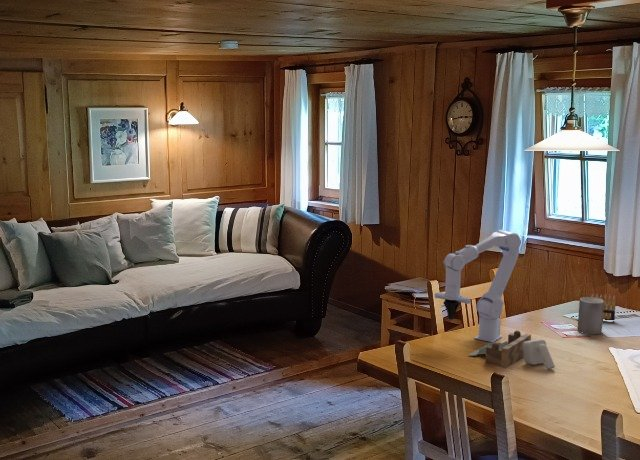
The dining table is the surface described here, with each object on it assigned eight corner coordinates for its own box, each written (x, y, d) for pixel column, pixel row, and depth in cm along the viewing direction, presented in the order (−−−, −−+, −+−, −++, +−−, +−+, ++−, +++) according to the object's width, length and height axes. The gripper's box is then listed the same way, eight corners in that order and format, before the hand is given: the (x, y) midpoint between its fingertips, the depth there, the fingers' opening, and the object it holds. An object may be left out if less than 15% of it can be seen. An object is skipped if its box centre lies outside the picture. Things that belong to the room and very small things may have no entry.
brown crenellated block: (510, 348, 292) (511, 328, 291) (530, 352, 288) (531, 332, 286) (485, 363, 275) (486, 342, 273) (506, 368, 270) (507, 346, 269)
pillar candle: (581, 326, 323) (583, 292, 320) (604, 330, 317) (607, 296, 315) (574, 332, 315) (576, 297, 313) (598, 336, 310) (600, 301, 307)
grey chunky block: (545, 371, 265) (542, 343, 266) (525, 369, 274) (522, 341, 275) (562, 368, 269) (559, 340, 269) (541, 366, 278) (539, 339, 279)
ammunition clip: (588, 320, 333) (590, 293, 331) (588, 318, 335) (590, 292, 333) (614, 322, 330) (616, 295, 328) (614, 321, 332) (616, 294, 330)
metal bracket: (515, 338, 287) (499, 348, 275) (518, 353, 287) (503, 363, 275) (481, 341, 295) (464, 351, 283) (484, 356, 295) (467, 366, 283)
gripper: (431, 283, 295) (429, 317, 297) (465, 289, 286) (463, 324, 288) (439, 280, 300) (438, 313, 303) (473, 286, 292) (471, 320, 294)
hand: (451, 318), depth 296 cm, fingers closed
